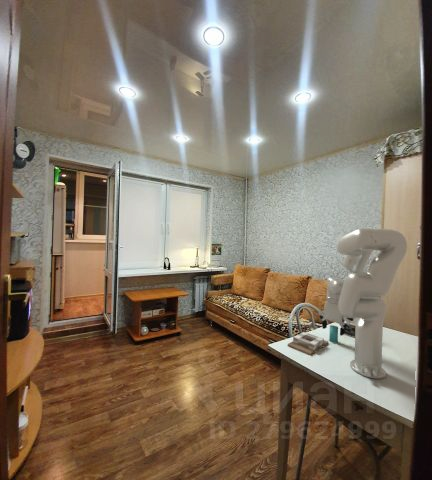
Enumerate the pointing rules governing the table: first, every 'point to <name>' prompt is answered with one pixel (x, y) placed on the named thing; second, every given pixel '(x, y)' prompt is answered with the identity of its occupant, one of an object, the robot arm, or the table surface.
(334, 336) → the peg
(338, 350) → the table surface
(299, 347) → the socket board
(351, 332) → the medicine bottle
